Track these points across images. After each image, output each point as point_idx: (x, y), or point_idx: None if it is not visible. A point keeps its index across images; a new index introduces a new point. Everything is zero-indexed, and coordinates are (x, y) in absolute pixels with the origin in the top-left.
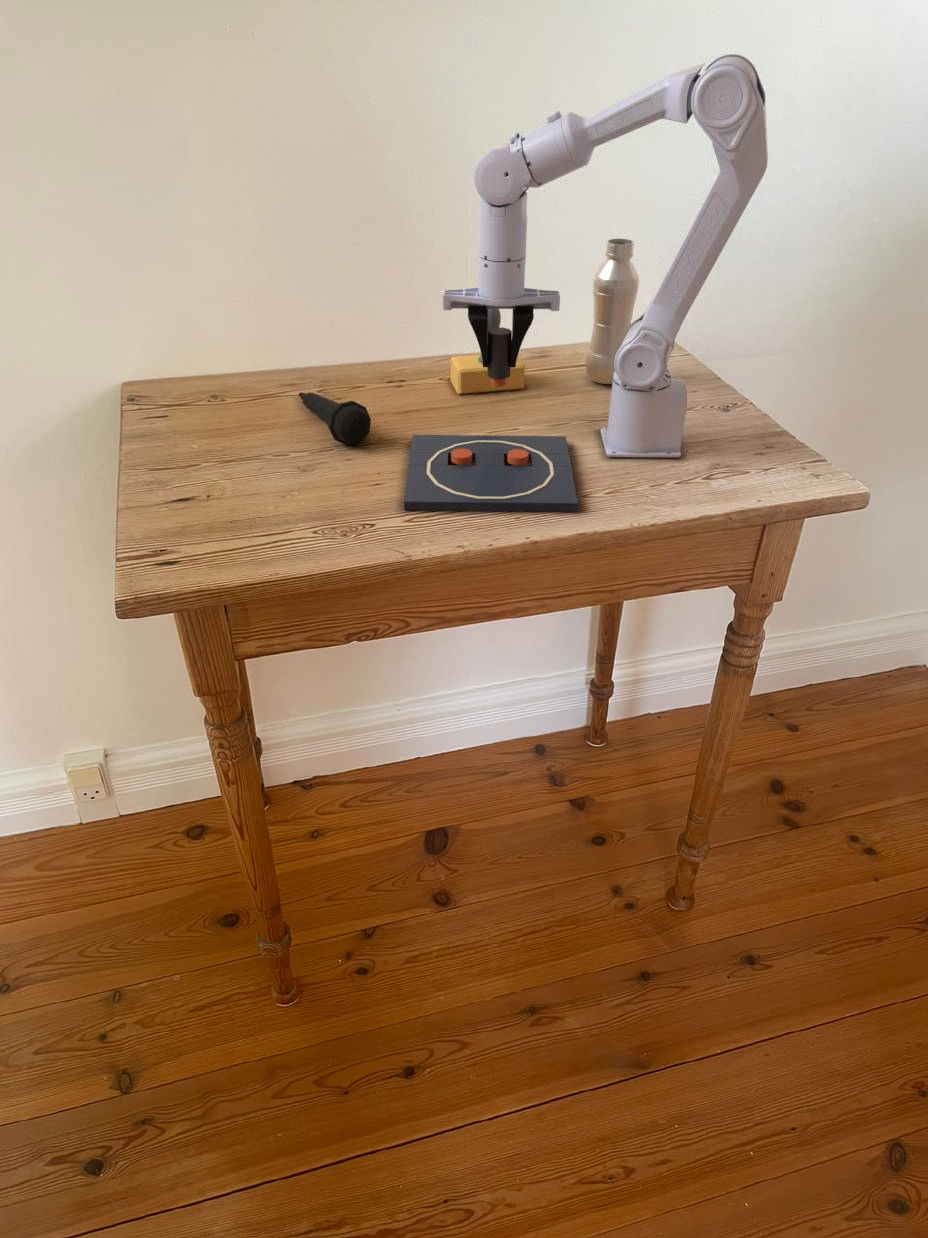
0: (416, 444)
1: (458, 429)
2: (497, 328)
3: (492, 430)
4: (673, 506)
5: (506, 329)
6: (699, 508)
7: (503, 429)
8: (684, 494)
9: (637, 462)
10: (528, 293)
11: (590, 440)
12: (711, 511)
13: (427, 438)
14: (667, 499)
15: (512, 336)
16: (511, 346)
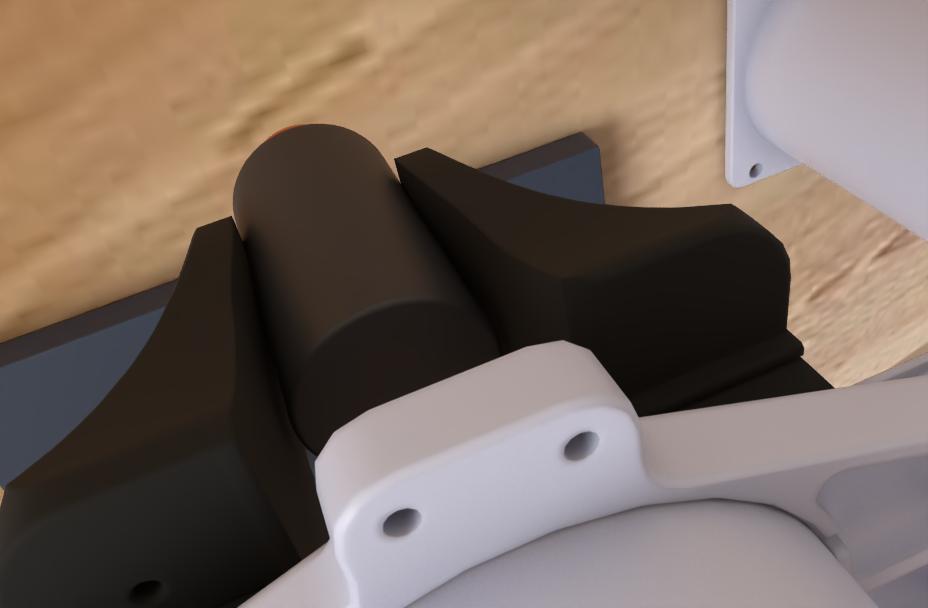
0: (6, 459)
1: (64, 157)
2: (360, 344)
3: (242, 106)
4: (839, 364)
5: (450, 332)
6: (891, 347)
7: (292, 75)
8: (881, 301)
9: (809, 172)
10: (874, 583)
11: (678, 54)
12: (912, 347)
13: (21, 400)
14: (834, 340)
15: (489, 304)
16: (453, 257)
